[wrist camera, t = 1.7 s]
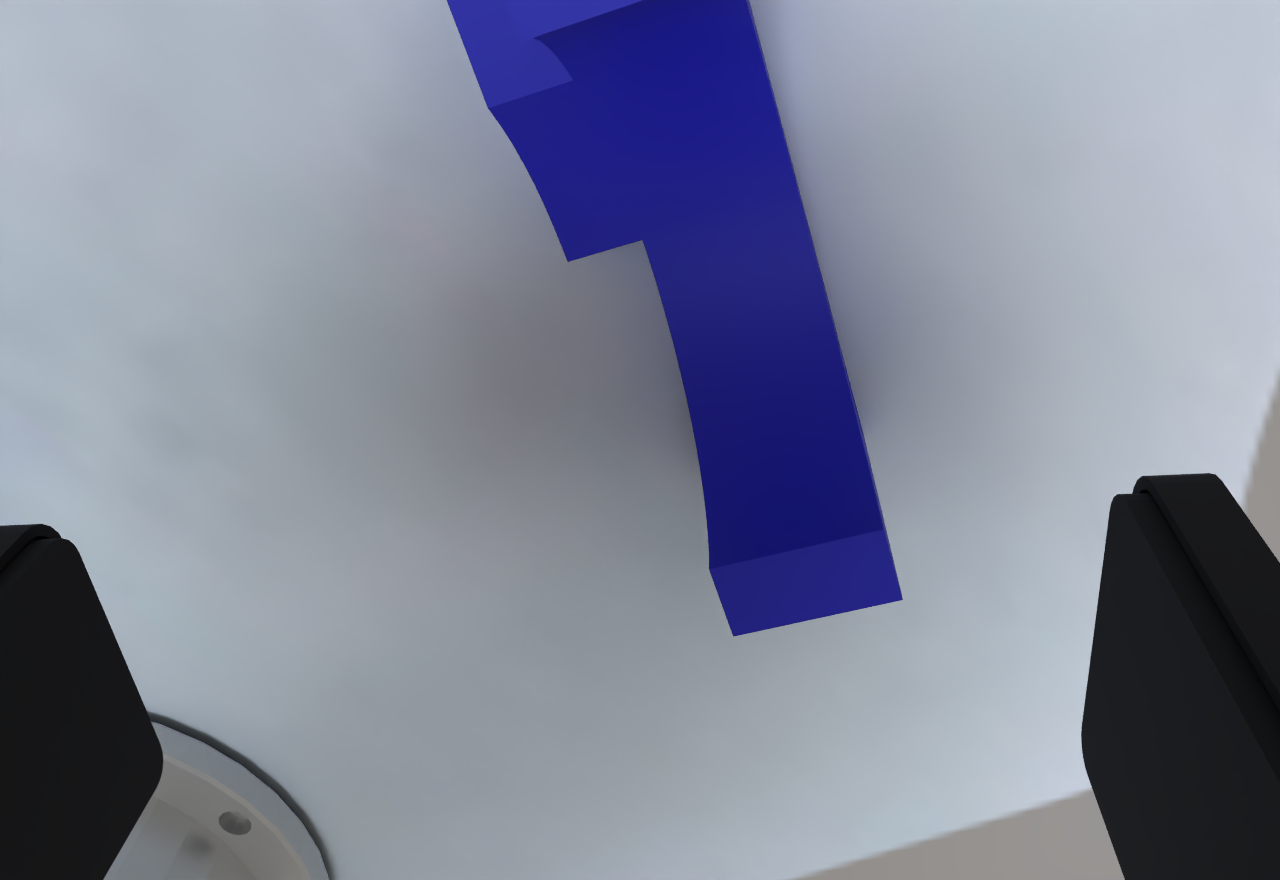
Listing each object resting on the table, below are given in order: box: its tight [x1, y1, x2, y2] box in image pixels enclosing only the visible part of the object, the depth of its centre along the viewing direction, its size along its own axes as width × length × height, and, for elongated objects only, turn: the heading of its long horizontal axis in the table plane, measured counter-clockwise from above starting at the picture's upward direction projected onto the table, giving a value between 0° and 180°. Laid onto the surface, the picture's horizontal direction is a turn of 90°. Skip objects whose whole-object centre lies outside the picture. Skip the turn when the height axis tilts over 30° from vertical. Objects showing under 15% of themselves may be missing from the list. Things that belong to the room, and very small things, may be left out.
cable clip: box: [447, 0, 903, 636], centre depth 20 cm, size 12×4×6 cm, turn 18°
